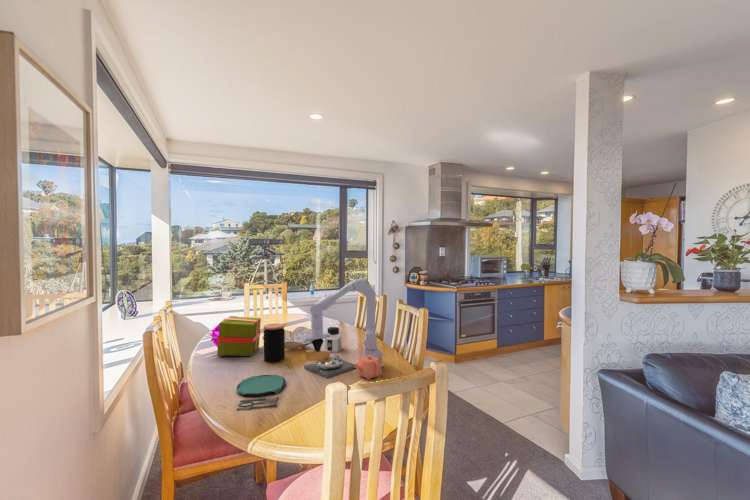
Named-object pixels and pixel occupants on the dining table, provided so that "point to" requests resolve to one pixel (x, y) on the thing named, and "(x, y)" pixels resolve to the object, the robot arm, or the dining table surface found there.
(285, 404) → the dining table surface
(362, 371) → the pumpkin
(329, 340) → the container
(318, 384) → the dining table surface
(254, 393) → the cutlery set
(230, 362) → the dining table surface
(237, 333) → the gift box
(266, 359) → the coffee jar
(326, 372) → the base plate
